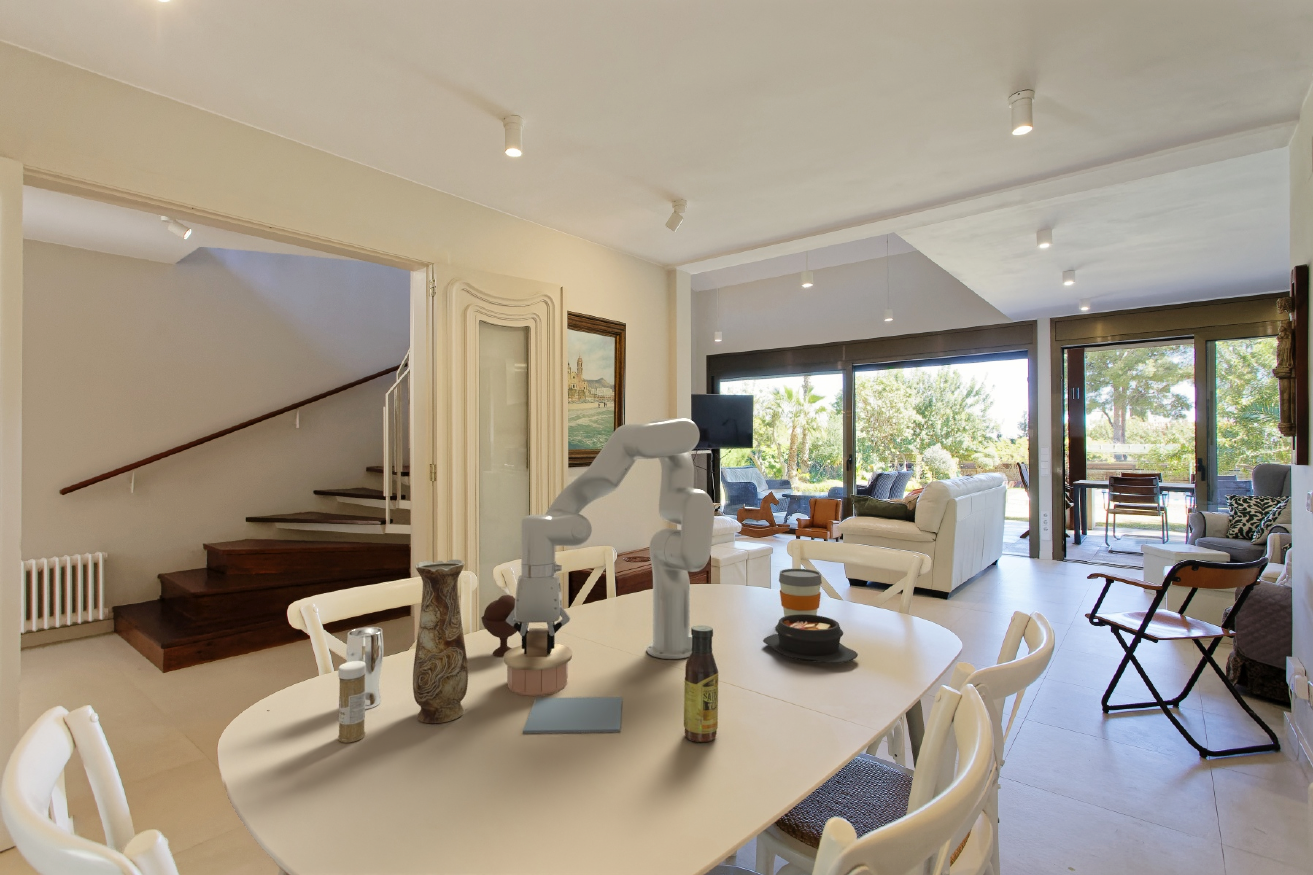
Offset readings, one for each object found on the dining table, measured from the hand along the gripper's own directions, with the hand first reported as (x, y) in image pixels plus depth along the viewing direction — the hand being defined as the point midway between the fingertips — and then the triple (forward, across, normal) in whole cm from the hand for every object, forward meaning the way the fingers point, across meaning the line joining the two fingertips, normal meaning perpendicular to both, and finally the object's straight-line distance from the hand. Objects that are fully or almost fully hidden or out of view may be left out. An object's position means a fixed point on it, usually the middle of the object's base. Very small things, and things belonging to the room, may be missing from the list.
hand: (538, 651), depth 142 cm
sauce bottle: (+8, -34, +26) cm, 43 cm away
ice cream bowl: (+8, +12, -21) cm, 25 cm away
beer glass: (+7, +34, +10) cm, 36 cm away
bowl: (+8, 0, 0) cm, 8 cm away
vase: (+8, +17, +15) cm, 24 cm away
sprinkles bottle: (+7, +30, +25) cm, 40 cm away
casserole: (+8, -66, -18) cm, 69 cm away
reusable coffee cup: (+8, -71, -46) cm, 85 cm away
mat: (+7, -10, +16) cm, 21 cm away
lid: (+2, 0, 0) cm, 2 cm away
